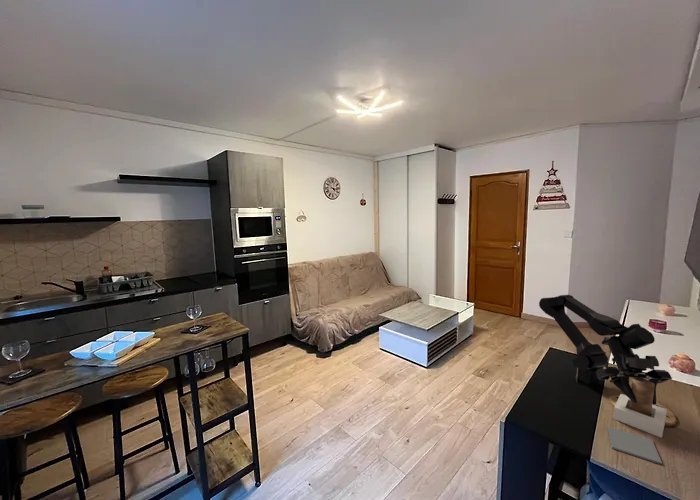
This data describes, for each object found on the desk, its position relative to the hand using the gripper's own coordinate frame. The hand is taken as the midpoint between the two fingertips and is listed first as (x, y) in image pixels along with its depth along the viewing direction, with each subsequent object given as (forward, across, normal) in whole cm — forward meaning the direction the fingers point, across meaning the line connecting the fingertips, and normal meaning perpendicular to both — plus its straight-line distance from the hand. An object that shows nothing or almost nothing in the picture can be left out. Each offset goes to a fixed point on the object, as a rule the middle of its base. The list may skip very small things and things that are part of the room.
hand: (644, 403), depth 94 cm
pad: (+12, -10, -3) cm, 16 cm away
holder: (+4, 0, +6) cm, 7 cm away
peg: (+4, 0, +6) cm, 7 cm away
